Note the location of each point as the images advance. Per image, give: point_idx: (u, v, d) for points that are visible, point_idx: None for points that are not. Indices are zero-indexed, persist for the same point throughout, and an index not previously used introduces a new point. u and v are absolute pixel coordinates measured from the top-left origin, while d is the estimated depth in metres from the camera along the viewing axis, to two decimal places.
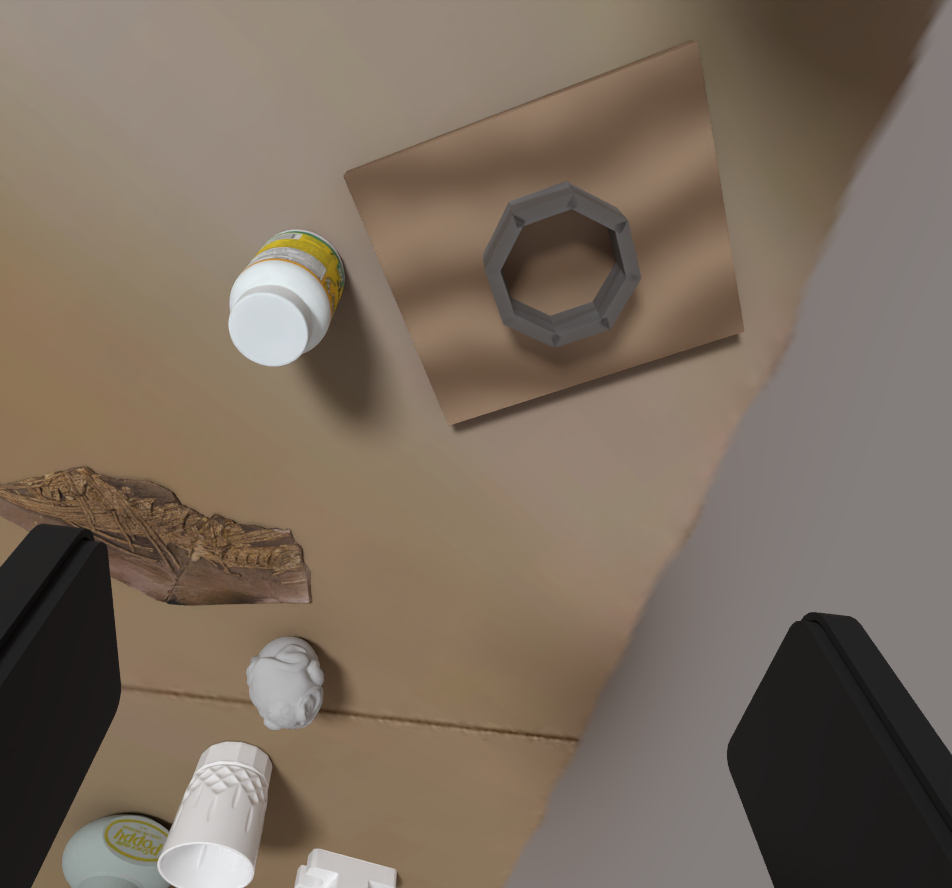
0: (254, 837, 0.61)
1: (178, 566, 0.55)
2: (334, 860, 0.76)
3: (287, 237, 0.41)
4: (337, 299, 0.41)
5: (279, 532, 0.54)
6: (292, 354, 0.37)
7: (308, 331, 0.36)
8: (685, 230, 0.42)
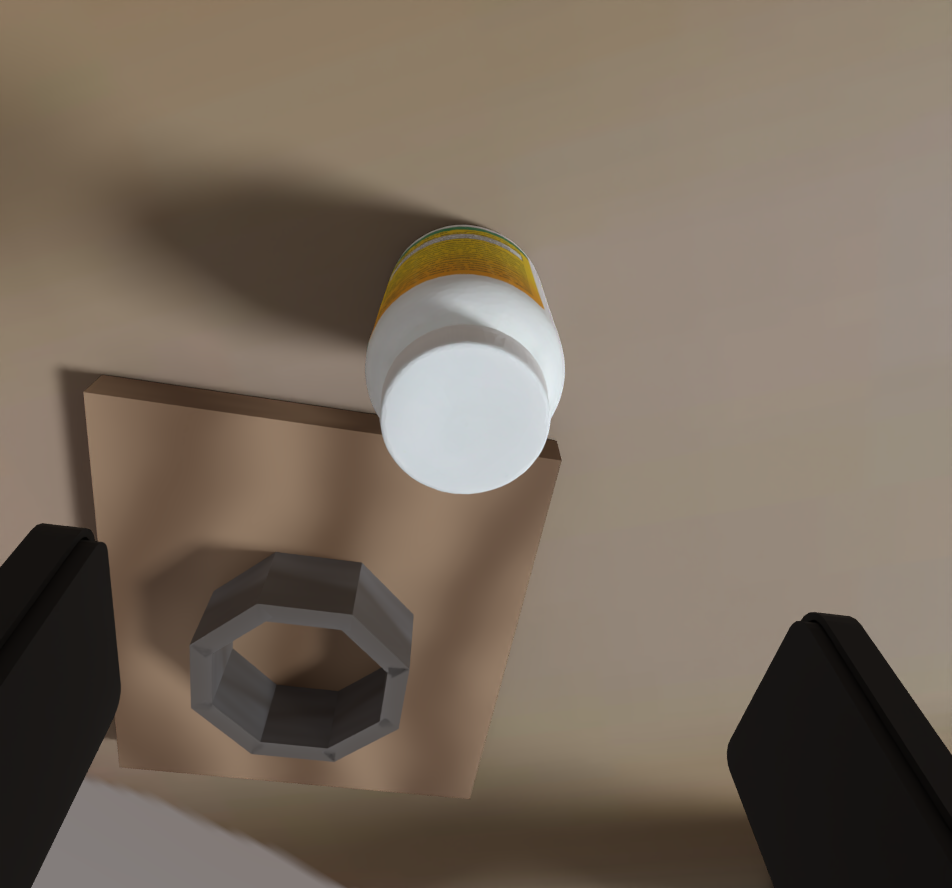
0: None
1: None
2: None
3: None
4: None
5: None
6: (396, 436, 0.17)
7: None
8: None
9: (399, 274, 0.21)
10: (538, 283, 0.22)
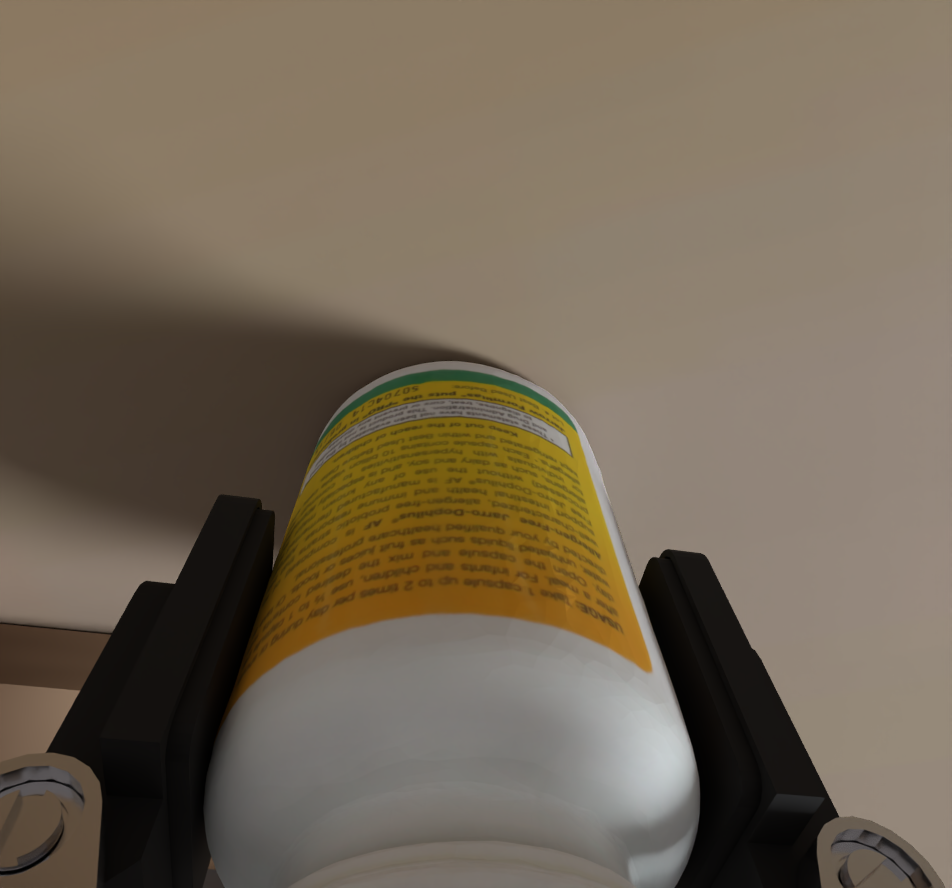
0: None
1: None
2: None
3: None
4: None
5: None
6: None
7: None
8: None
9: (309, 510, 0.10)
10: (606, 508, 0.10)
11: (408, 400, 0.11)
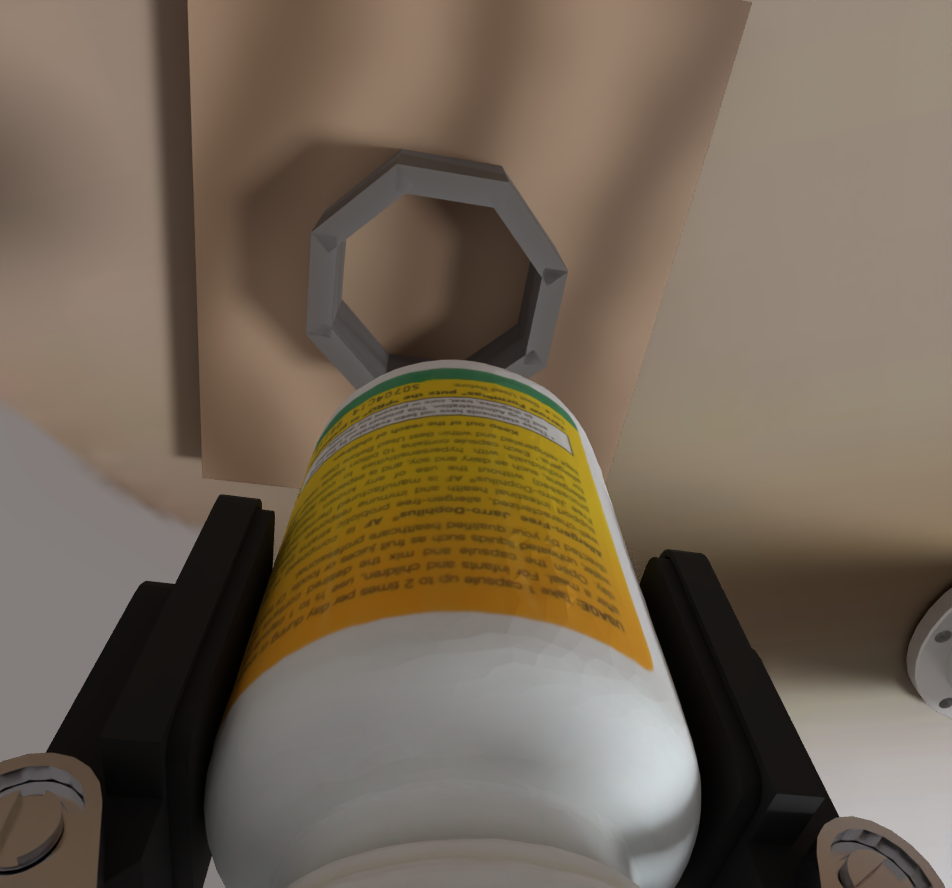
0: None
1: None
2: None
3: None
4: None
5: None
6: None
7: None
8: None
9: (310, 508, 0.10)
10: (607, 506, 0.10)
11: (408, 398, 0.11)
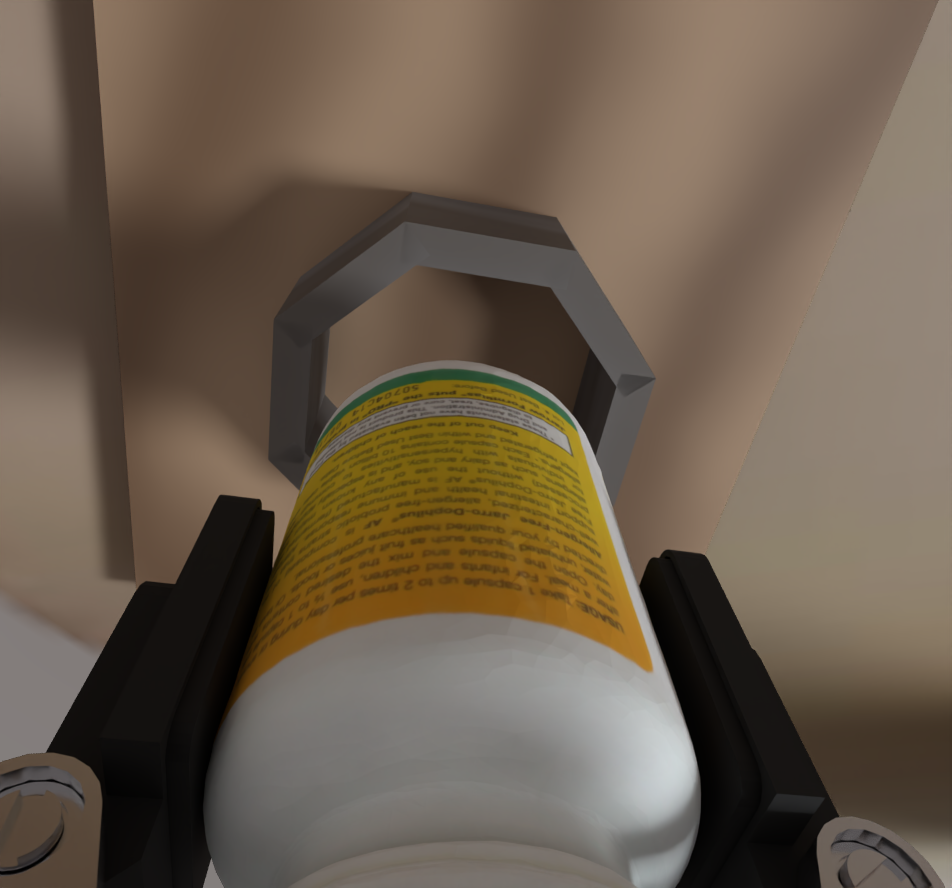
0: None
1: None
2: None
3: None
4: None
5: None
6: None
7: None
8: None
9: (309, 509, 0.10)
10: (607, 507, 0.10)
11: (408, 399, 0.11)
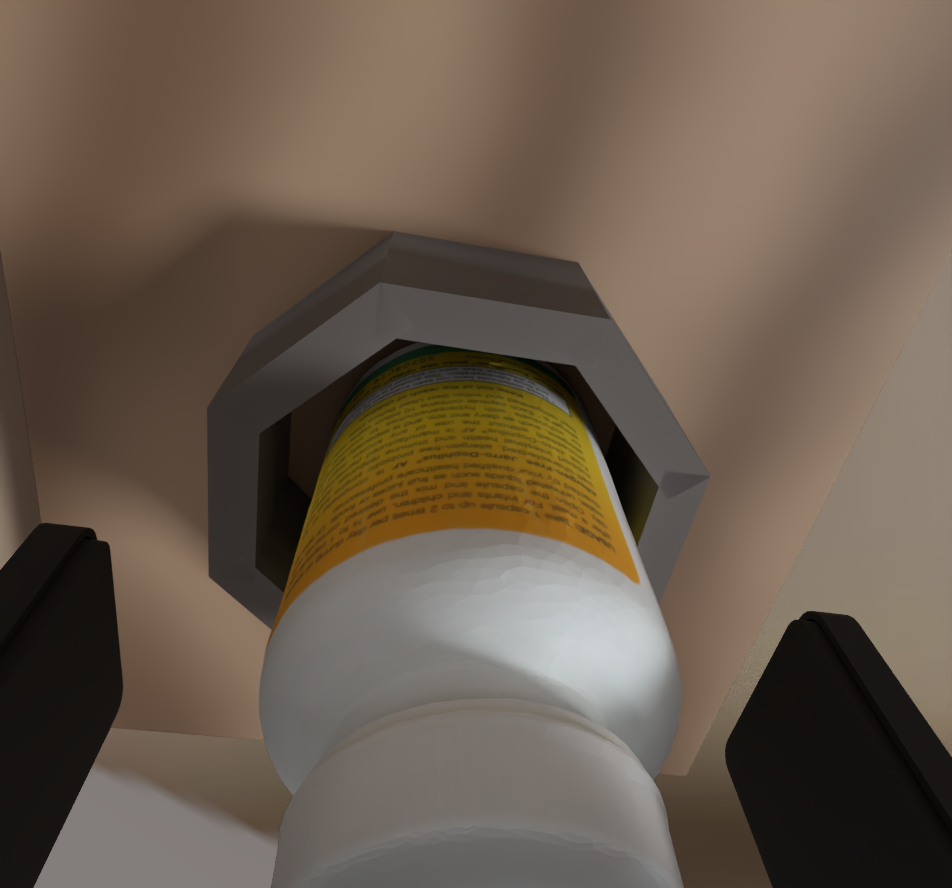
0: None
1: None
2: None
3: None
4: None
5: None
6: None
7: None
8: None
9: (340, 460, 0.11)
10: (602, 462, 0.12)
11: (425, 368, 0.12)
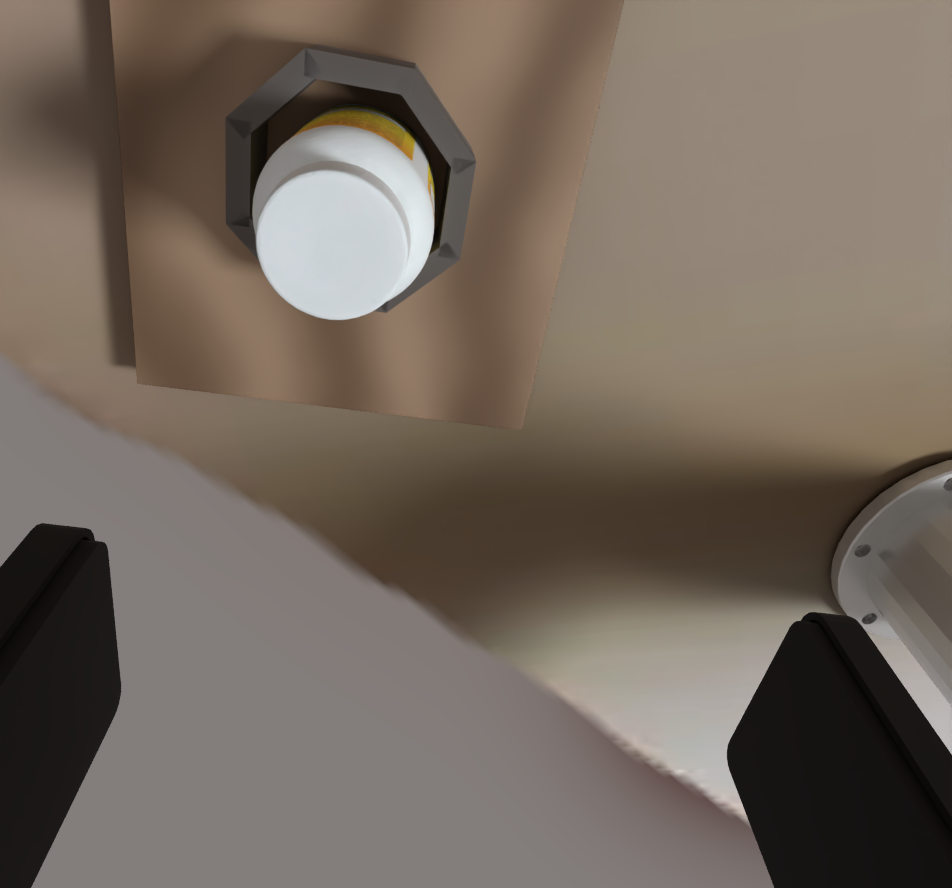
0: None
1: None
2: None
3: None
4: None
5: None
6: (271, 262, 0.19)
7: (301, 309, 0.20)
8: (319, 356, 0.31)
9: None
10: (419, 151, 0.24)
11: (333, 110, 0.24)
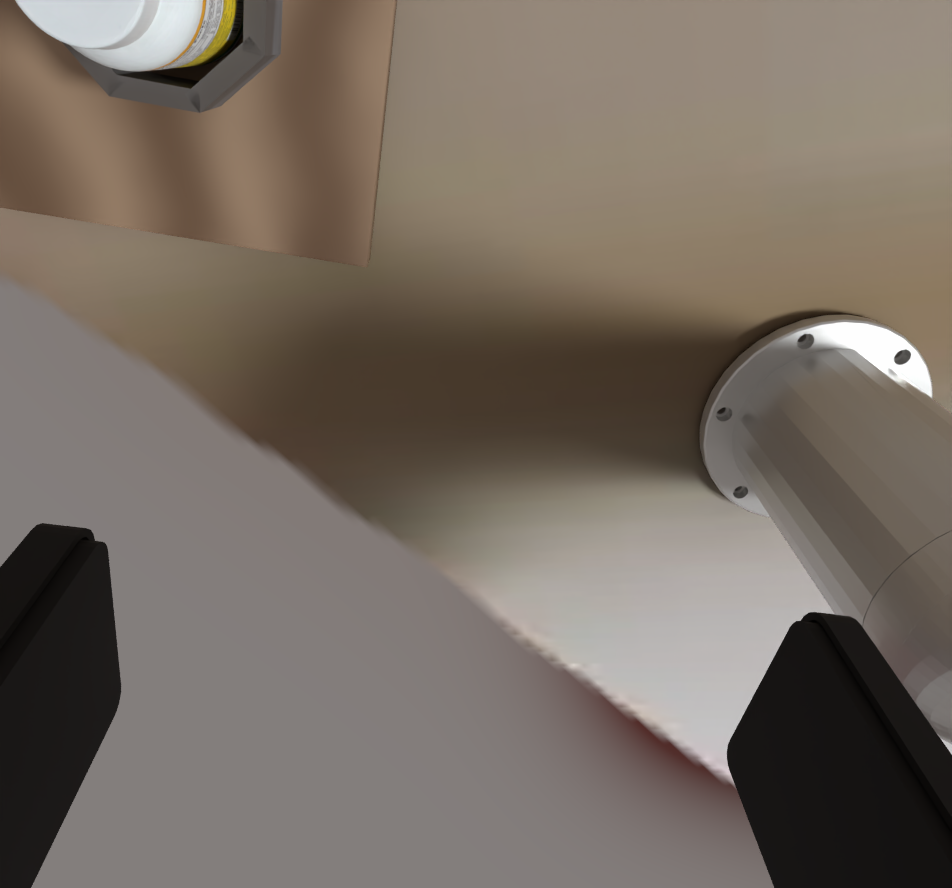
0: None
1: None
2: None
3: (235, 22, 0.27)
4: None
5: None
6: None
7: (53, 36, 0.21)
8: (160, 180, 0.32)
9: None
10: None
11: None
